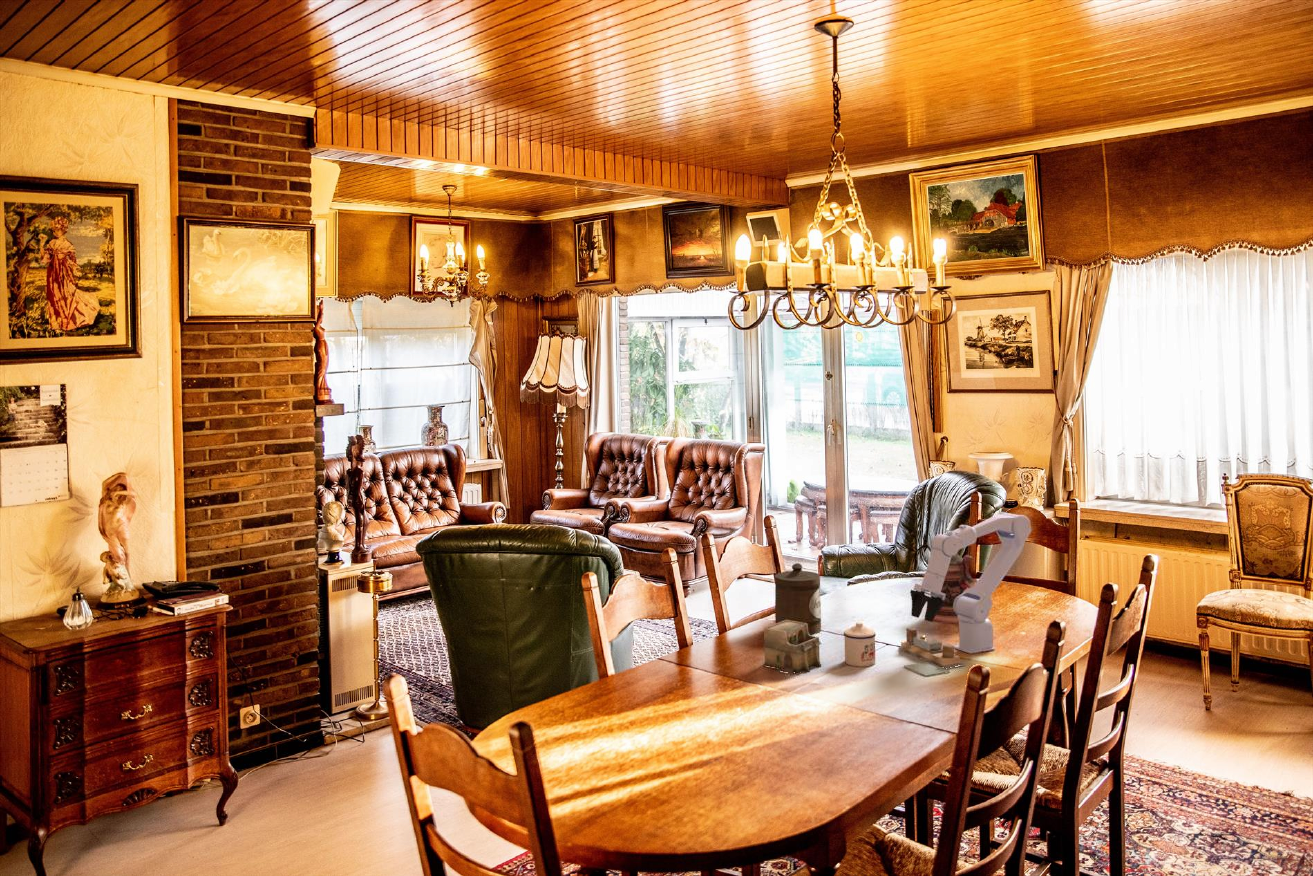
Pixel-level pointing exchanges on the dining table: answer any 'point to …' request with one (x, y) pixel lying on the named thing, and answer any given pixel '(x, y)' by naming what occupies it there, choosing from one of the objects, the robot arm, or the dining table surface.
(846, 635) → the teacup with lid
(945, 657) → the plane body
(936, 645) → the lever cap
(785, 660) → the miniature house
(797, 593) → the wooden container
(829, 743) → the dining table surface
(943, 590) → the beer stein
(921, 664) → the felt pad
